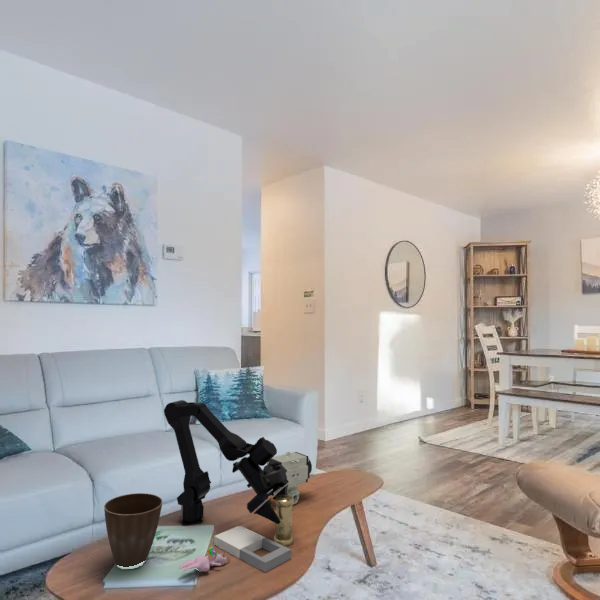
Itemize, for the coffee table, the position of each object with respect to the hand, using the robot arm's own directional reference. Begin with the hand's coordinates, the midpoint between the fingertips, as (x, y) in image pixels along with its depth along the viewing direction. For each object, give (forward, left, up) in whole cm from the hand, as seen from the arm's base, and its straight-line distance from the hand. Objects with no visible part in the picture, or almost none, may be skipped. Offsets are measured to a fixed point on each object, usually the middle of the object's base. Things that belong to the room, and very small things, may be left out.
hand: (285, 517), depth 142 cm
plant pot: (-43, +3, -8) cm, 44 cm away
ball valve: (+13, +28, -8) cm, 32 cm away
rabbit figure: (-26, -7, -8) cm, 28 cm away
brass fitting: (0, 0, -7) cm, 7 cm away
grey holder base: (-11, -1, -7) cm, 14 cm away
